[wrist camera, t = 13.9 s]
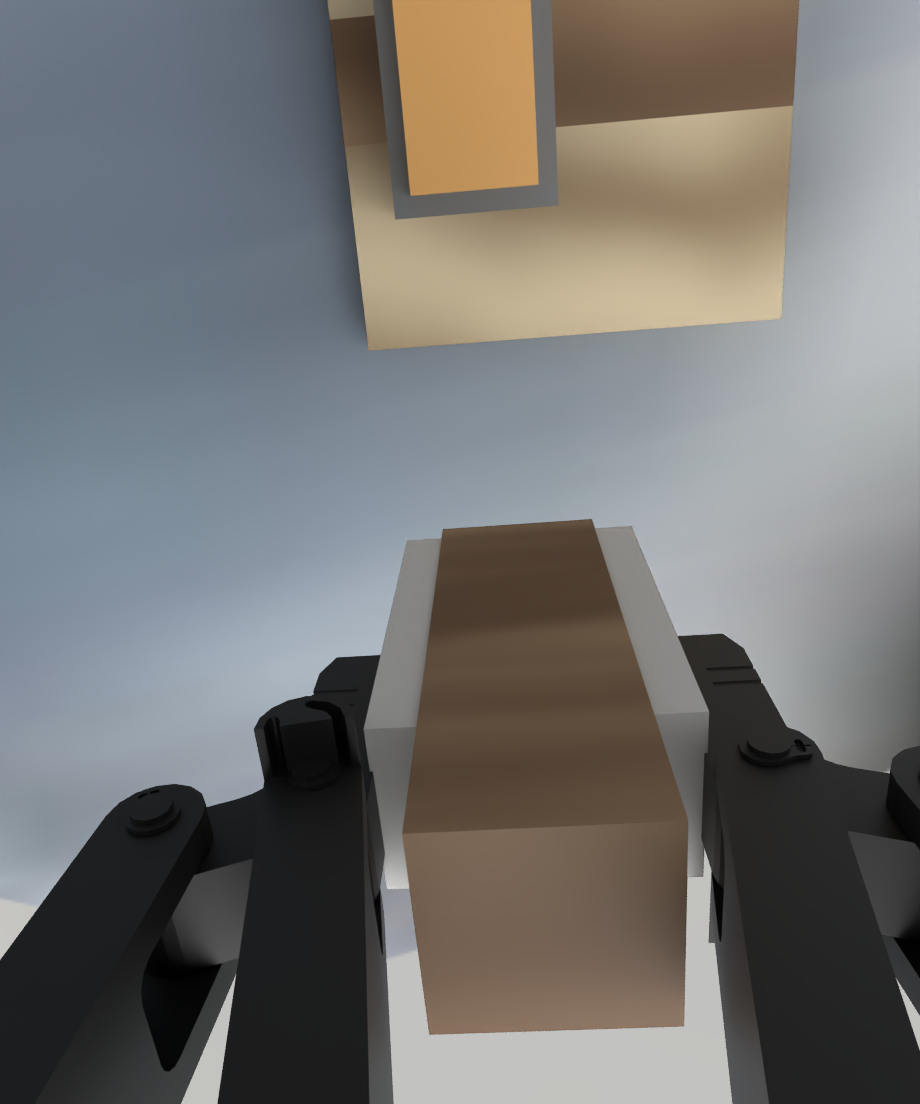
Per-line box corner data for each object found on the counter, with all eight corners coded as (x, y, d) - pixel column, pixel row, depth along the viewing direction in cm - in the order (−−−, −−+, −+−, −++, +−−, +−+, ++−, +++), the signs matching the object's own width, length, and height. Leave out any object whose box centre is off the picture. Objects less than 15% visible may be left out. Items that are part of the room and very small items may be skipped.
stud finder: (373, -131, 21) (348, -202, 17) (536, -149, 21) (546, -225, 17) (406, 217, 24) (391, 220, 20) (549, 205, 24) (561, 205, 20)
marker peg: (442, 529, 17) (402, 834, 9) (591, 519, 17) (688, 820, 9) (455, 659, 19) (429, 1034, 10) (595, 650, 18) (683, 1025, 10)
